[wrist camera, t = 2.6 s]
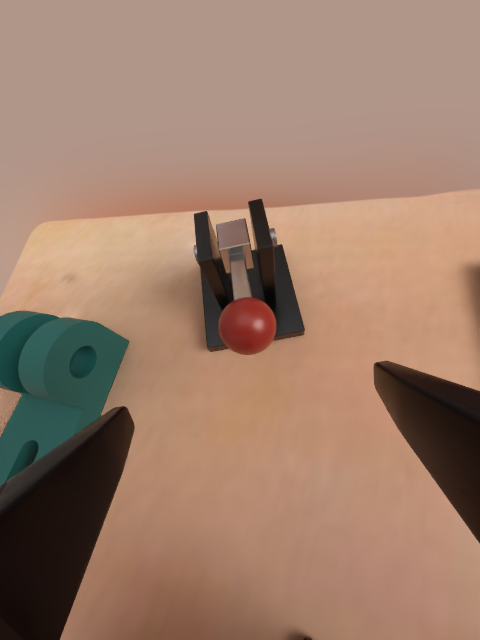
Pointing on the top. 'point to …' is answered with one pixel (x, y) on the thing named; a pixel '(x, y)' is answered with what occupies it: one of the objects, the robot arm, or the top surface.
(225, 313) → the lever
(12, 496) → the robot arm
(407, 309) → the top surface
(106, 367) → the bracket
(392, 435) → the top surface
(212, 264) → the bracket
